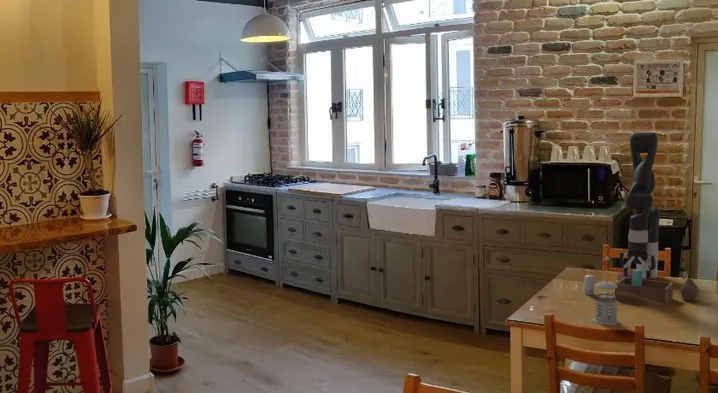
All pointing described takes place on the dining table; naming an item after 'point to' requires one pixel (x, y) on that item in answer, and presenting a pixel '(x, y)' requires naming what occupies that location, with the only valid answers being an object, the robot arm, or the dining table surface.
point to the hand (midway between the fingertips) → (636, 277)
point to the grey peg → (589, 285)
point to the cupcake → (621, 274)
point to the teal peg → (637, 278)
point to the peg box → (644, 292)
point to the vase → (689, 290)
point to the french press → (606, 303)
